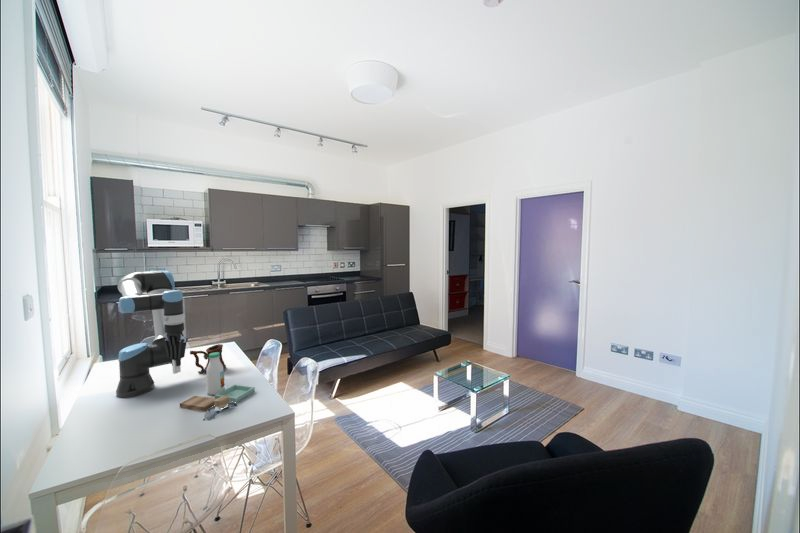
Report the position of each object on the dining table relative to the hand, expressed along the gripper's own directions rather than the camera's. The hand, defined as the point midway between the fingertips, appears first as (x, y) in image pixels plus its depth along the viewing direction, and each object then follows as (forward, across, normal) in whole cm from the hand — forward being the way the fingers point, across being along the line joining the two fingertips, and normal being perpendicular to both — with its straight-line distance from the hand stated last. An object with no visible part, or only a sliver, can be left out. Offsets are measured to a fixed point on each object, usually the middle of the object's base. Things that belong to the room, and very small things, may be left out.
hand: (176, 372), depth 150 cm
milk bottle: (+15, +9, +13) cm, 22 cm away
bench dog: (+15, +26, 0) cm, 30 cm away
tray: (+15, +22, +12) cm, 29 cm away
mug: (+14, -17, +33) cm, 40 cm away
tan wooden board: (+15, +13, 0) cm, 20 cm away
